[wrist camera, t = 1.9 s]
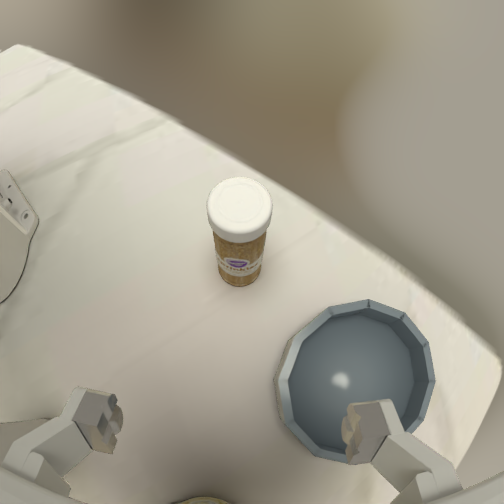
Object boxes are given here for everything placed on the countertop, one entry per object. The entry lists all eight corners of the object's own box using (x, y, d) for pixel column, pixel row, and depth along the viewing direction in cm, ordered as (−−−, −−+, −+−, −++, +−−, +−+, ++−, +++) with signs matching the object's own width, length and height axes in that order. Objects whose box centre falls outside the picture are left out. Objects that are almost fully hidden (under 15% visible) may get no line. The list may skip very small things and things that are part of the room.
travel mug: (74, 478, 24) (-45, 529, 5) (31, 451, 24) (-93, 471, 6) (83, 434, 26) (-51, 465, 7) (38, 408, 26) (-96, 407, 8)
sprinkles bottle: (221, 290, 33) (209, 236, 20) (216, 249, 34) (202, 178, 22) (265, 283, 33) (279, 227, 21) (257, 243, 35) (266, 170, 22)
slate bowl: (243, 375, 30) (243, 376, 26) (355, 281, 33) (368, 269, 30) (338, 479, 25) (350, 491, 22) (436, 380, 29) (456, 379, 26)
